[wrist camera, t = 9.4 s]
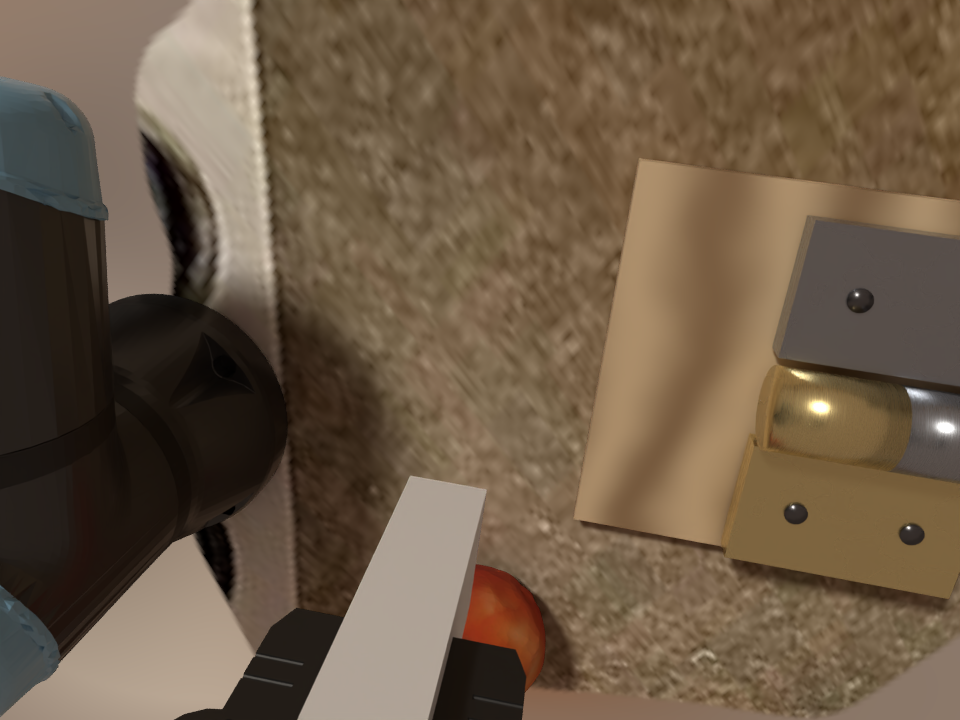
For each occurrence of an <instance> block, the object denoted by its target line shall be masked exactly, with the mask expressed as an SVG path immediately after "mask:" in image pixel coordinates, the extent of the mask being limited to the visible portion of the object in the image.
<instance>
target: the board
mask: <svg viewBox="0 0 960 720" xmlns="http://www.w3.org/2000/svg"><path fill="white" fill-rule="evenodd" d="M807 215H812V216H819V217H827V218H834V219H841V220H849V221H856V222H863V223H870V224H878V225H885V226H892V227H900V228H907V229H914V230H922V231H929V232H936V233H943V234H951V235H958V236H960V201H959V200H951V199H943V198H936V197H928V196H921V195H913V194H906V193H898V192H890V191H883V190H875V189H868V188H860V187H853V186H845V185H837V184H830V183H822V182H815V181H807V180H800V179H792V178H784V177H777V176H769V175H762V174H754V173H747V172H739V171H732V170H724V169H716V168H709V167H701V166H694V165H686V164H679V163H671V162H663V161H656V160H648V159H641V158H639V159H638V165H637V170H636V176H635V181H634V187H633V192H632V198H631V203H630V209H629V214H628V219H627V225H626V230H625V236H624V241H623V247H622V252H621V258H620V263H619V269H618V274H617V280H616V285H615V290H614V296H613V301H612V307H611V312H610V318H609V323H608V329H607V334H606V340H605V345H604V350H603V356H602V361H601V367H600V372H599V378H598V383H597V389H596V394H595V400H594V405H593V411H592V416H591V421H590V427H589V432H588V438H587V443H586V449H585V454H584V460H583V465H582V471H581V476H580V481H579V487H578V492H577V498H576V503H575V509H574V519H577V520H582V521H588V522H593V523H598V524H604V525H609V526H615V527H620V528H625V529H631V530H636V531H641V532H647V533H652V534H658V535H663V536H668V537H674V538H679V539H685V540H690V541H695V542H701V543H706V544H711V545H717V546H722V545H721V538H722V534H723V530H724V526H725V523H726V519H727V515H728V511H729V508H730V504H731V500H732V496H733V492H734V489H735V485H736V481H737V477H738V474H739V470H740V466H741V462H742V459H743V455H744V451H745V447H746V444H747V440H748V436H749V433H751V434H756V432H755V424H756V412H757V405H758V400H759V395H760V391H761V388H762V384H763V382H764V379H765V377H766V374H767V373H768V371H769V369H770V368H771V367H772V366H773V365H780V366H786V367H793V368H799V369H805V370H812V371H818V372H824V373H831V374H837V375H843V376H849V377H856V378H862V379H868V380H875V381H881V382H887V383H894V384H900V385H906V386H912V387H919V388H925V389H931V390H938V391H944V392H950V393H957V394H960V386H954V385H947V384H941V383H935V382H928V381H922V380H916V379H909V378H903V377H897V376H890V375H884V374H878V373H871V372H865V371H859V370H852V369H846V368H840V367H833V366H827V365H820V364H814V363H808V362H801V361H795V360H789V359H782V358H778V357H777V355H776V353H775V352H774V350H773V349H772V346H773V342H774V338H775V335H776V331H777V327H778V323H779V320H780V316H781V312H782V308H783V305H784V301H785V297H786V293H787V290H788V286H789V282H790V278H791V275H792V271H793V267H794V263H795V259H796V256H797V252H798V248H799V244H800V241H801V237H802V233H803V229H804V226H805V222H806V218H807Z"/></svg>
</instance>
